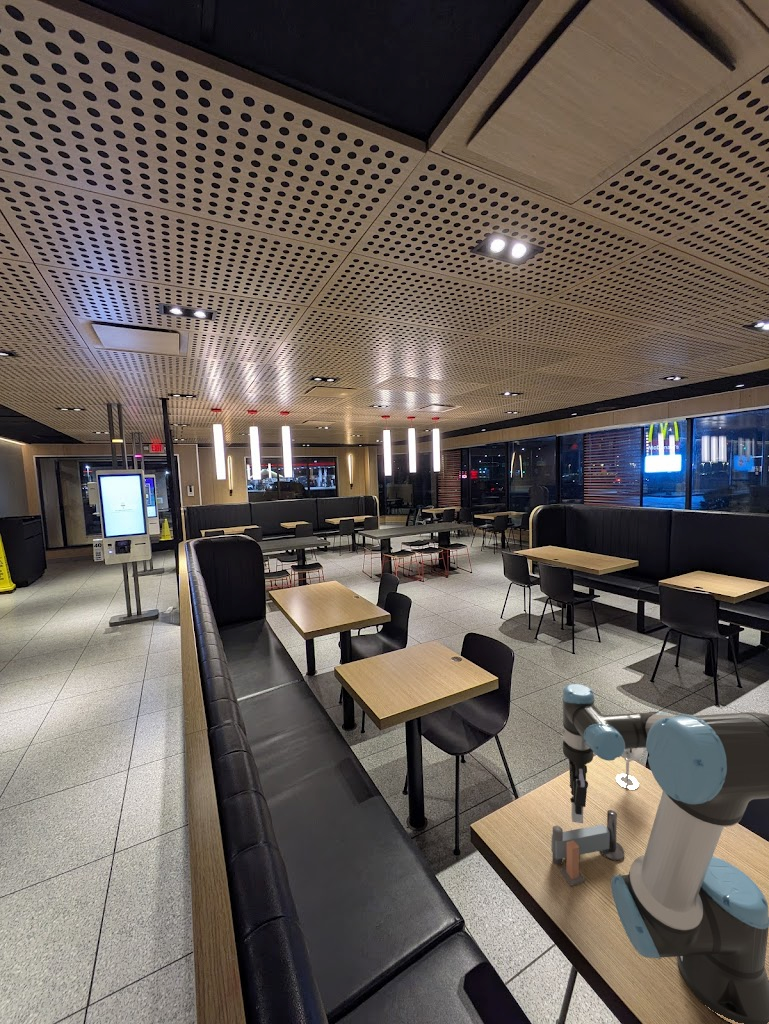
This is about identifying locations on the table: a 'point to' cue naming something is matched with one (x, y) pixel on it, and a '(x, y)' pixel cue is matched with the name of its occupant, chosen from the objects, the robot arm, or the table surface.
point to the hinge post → (613, 839)
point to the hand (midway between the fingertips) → (577, 820)
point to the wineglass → (625, 779)
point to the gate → (579, 840)
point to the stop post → (572, 865)
